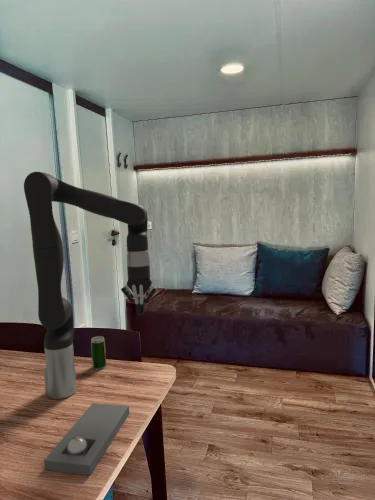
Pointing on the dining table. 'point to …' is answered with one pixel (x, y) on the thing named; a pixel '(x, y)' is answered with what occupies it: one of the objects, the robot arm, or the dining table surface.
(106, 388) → the dining table surface
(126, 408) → the hole board
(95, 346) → the beer can
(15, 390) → the dining table surface
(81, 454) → the steel ball
